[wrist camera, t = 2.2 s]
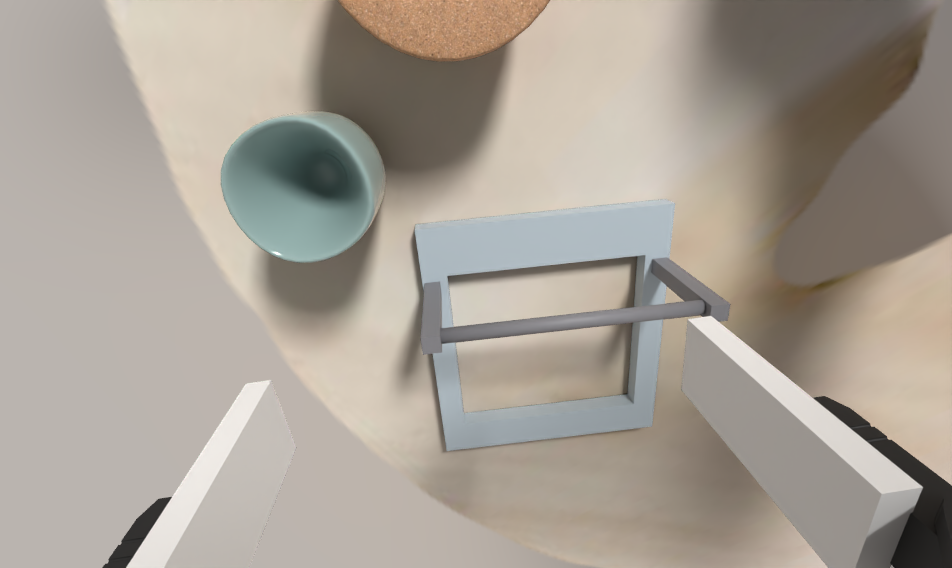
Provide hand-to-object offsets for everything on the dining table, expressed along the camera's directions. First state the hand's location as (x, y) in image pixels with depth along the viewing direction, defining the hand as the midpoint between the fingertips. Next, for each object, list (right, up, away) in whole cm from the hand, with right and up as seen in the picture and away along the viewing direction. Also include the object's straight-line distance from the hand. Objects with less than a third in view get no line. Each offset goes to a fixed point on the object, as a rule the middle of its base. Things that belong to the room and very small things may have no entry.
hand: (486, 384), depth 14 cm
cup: (-11, +12, +18) cm, 24 cm away
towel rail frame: (+6, -1, +25) cm, 26 cm away
